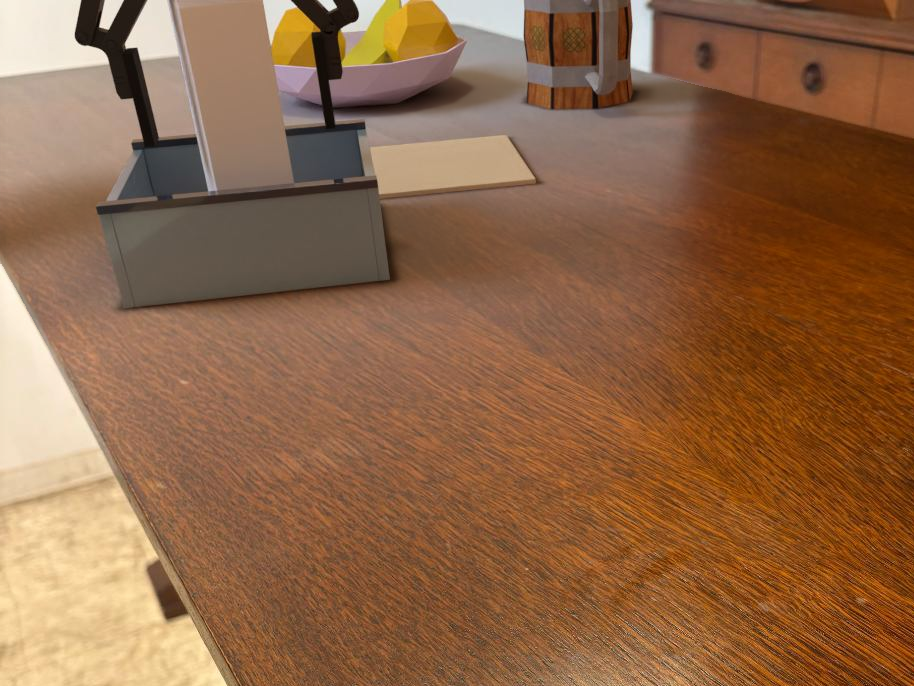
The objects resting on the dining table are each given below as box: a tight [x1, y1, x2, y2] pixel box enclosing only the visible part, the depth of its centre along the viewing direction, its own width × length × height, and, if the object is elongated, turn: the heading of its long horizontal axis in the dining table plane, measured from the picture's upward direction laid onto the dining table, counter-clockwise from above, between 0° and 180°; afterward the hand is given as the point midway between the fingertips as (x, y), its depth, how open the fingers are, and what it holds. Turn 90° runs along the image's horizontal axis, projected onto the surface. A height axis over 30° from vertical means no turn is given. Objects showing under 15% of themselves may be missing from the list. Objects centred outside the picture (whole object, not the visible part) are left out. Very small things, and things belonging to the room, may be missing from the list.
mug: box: [523, 0, 634, 110], centre depth 126 cm, size 20×14×15 cm
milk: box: [166, 0, 294, 191], centre depth 83 cm, size 6×6×22 cm
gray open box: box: [95, 118, 391, 309], centre depth 87 cm, size 20×20×8 cm
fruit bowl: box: [271, 0, 468, 109], centre depth 137 cm, size 28×27×11 cm
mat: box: [370, 134, 537, 200], centre depth 108 cm, size 20×18×1 cm
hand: (242, 134), depth 84 cm, fingers open, 13 cm apart
